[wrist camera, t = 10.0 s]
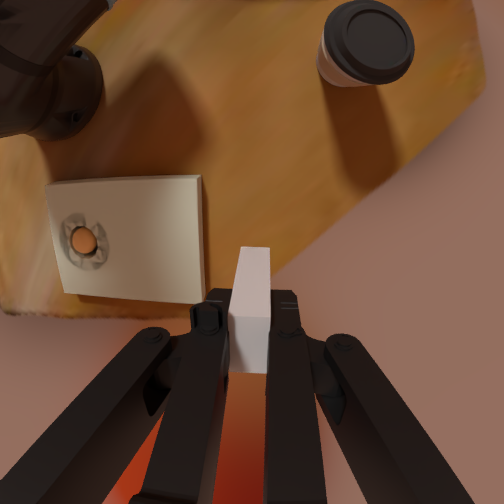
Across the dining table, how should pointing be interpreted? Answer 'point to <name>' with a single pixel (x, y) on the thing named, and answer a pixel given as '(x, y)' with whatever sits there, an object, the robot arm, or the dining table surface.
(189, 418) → the robot arm
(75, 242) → the ball
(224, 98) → the dining table surface
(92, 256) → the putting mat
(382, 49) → the coffee cup
